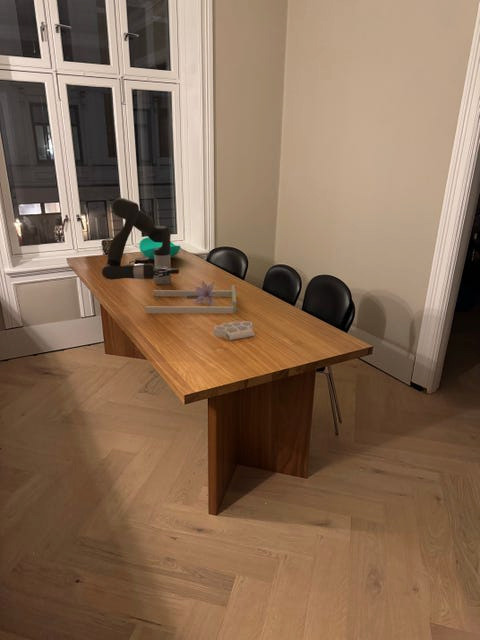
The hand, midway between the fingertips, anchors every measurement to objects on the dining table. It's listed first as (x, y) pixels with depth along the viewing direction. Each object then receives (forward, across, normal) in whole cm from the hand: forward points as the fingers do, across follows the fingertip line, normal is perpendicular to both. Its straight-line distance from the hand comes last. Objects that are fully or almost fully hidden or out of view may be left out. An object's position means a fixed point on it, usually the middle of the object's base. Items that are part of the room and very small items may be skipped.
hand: (178, 271), depth 217 cm
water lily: (+12, +1, +18) cm, 22 cm away
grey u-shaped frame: (+7, -1, +17) cm, 19 cm away
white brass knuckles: (+27, -40, +17) cm, 51 cm away
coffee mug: (-30, +58, +19) cm, 68 cm away
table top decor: (-23, +97, +20) cm, 102 cm away
